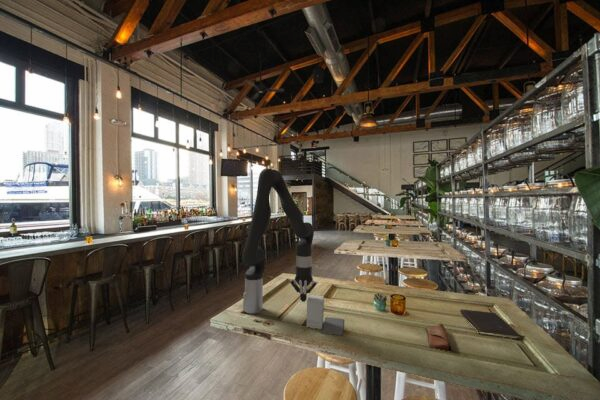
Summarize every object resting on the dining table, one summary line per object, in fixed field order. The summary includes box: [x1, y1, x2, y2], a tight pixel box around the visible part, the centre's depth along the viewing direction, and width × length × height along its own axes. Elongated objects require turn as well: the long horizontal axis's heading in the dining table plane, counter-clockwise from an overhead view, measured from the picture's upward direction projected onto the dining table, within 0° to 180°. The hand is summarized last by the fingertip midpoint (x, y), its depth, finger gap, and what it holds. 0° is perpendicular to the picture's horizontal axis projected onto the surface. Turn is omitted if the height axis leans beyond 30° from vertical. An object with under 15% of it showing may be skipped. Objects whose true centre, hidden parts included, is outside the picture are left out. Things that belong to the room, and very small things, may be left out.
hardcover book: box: [459, 308, 521, 338], centre depth 125 cm, size 16×23×2 cm
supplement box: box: [306, 294, 325, 330], centre depth 122 cm, size 7×7×13 cm
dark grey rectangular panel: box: [321, 316, 345, 336], centre depth 121 cm, size 9×15×1 cm, turn 169°
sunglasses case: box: [424, 323, 453, 353], centre depth 111 cm, size 18×7×7 cm
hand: (303, 301), depth 123 cm, fingers closed
